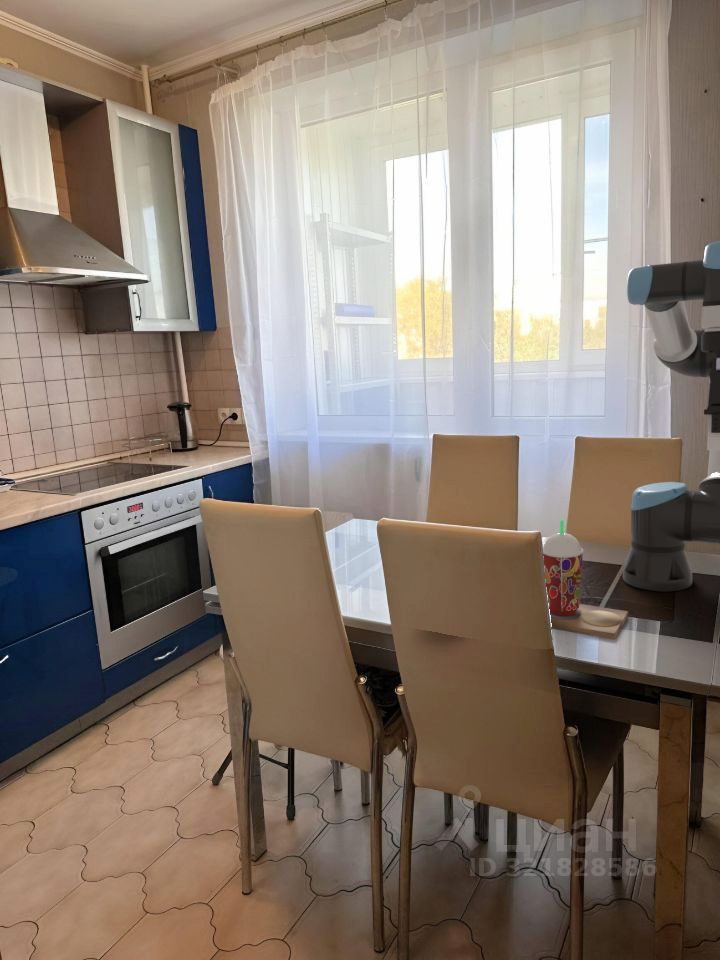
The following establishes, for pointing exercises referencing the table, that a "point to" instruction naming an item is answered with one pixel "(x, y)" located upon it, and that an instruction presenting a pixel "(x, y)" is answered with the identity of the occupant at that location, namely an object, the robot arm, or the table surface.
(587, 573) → the table surface
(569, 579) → the smoothie
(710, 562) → the table surface
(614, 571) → the table surface
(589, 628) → the coaster board
